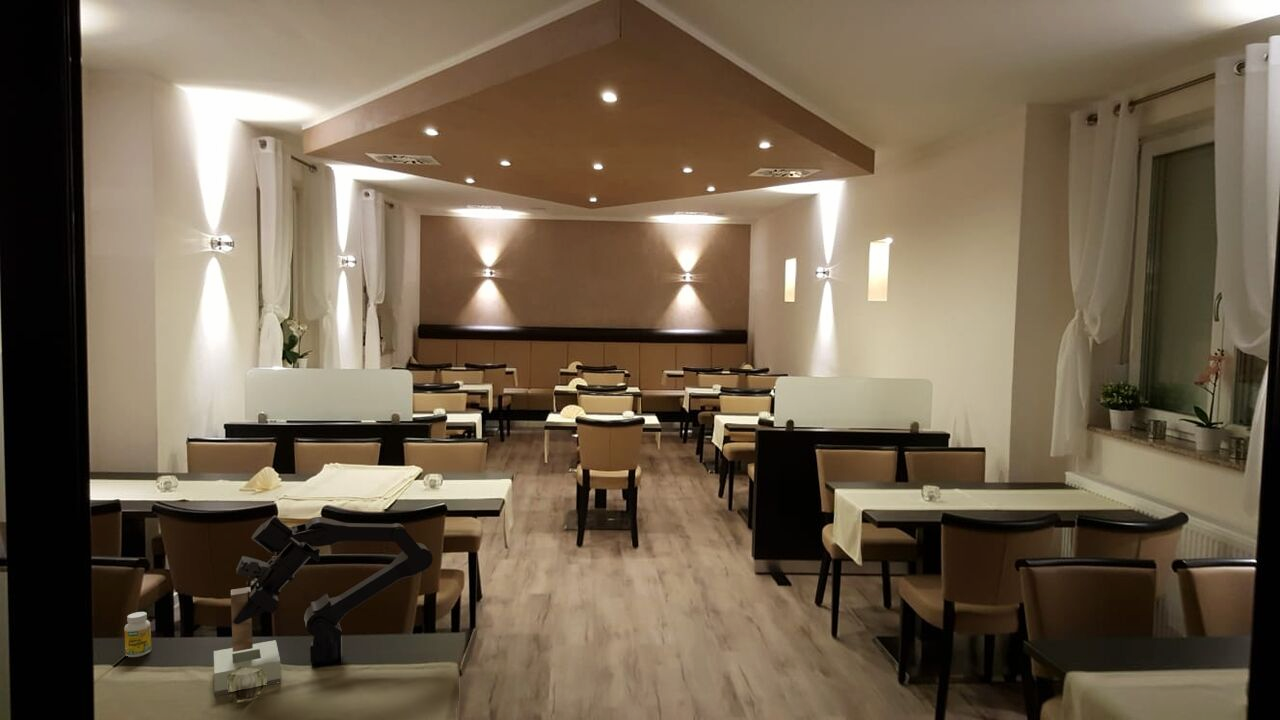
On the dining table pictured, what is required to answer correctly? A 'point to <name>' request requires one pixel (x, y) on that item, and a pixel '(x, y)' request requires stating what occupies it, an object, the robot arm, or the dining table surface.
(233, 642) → the walnut peg
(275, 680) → the socket block
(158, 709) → the dining table surface
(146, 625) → the supplement bottle
